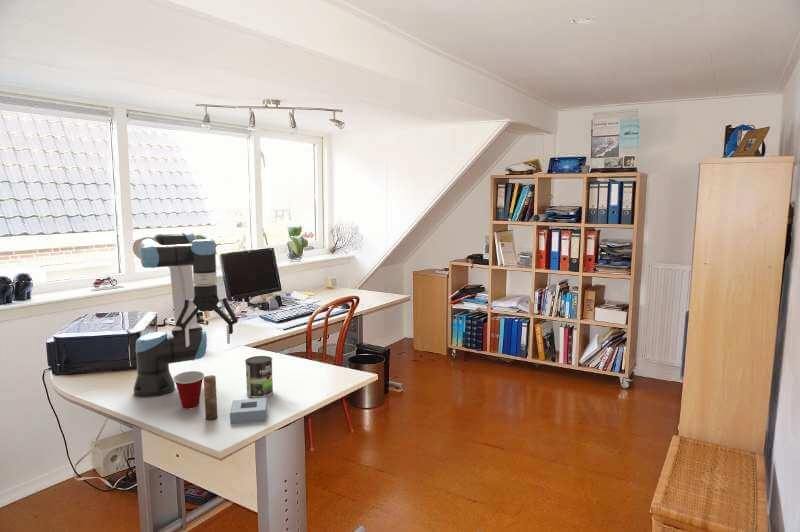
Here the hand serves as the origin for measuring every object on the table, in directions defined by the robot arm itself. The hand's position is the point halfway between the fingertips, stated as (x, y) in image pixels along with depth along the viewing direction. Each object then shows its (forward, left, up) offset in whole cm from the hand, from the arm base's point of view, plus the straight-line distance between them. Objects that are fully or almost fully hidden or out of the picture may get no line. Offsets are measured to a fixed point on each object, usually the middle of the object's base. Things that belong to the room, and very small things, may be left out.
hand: (208, 344), depth 186 cm
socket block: (+13, -1, -27) cm, 30 cm away
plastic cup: (-9, +13, -27) cm, 31 cm away
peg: (0, 0, -27) cm, 27 cm away
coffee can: (+16, +21, -27) cm, 38 cm away
